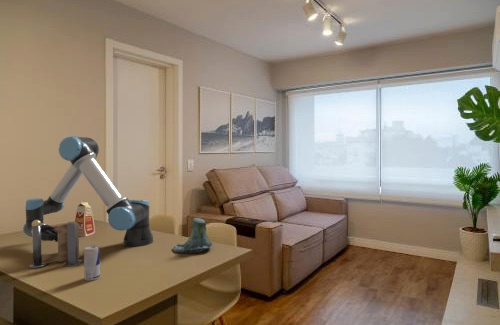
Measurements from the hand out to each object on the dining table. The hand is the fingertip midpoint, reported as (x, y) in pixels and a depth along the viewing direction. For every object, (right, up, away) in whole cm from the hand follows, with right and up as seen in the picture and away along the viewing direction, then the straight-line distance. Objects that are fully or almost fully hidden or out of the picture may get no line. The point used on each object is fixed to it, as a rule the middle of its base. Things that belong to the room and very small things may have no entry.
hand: (67, 238), depth 150 cm
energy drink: (+22, -10, -23) cm, 34 cm away
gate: (-1, -9, -3) cm, 10 cm away
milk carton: (-16, -8, +48) cm, 51 cm away
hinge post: (-8, -10, -9) cm, 15 cm away
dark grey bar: (+6, -9, -6) cm, 13 cm away
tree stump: (+55, -9, +15) cm, 57 cm away
